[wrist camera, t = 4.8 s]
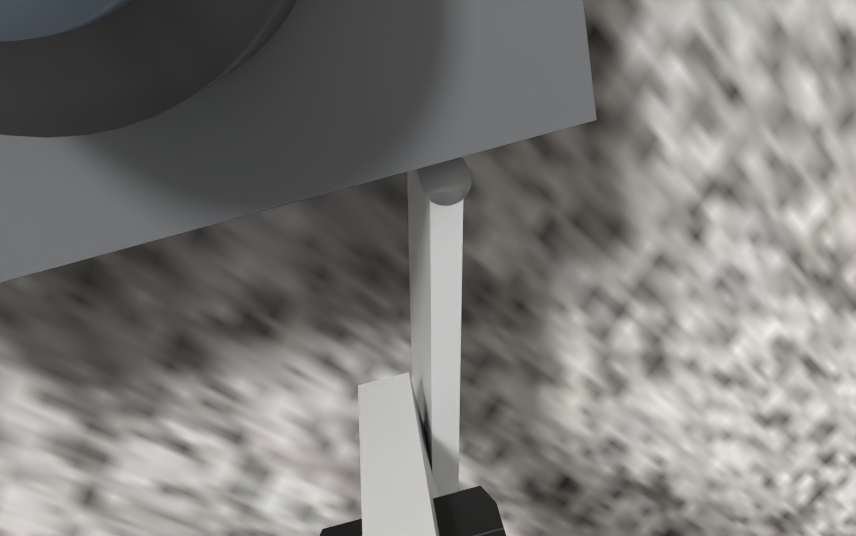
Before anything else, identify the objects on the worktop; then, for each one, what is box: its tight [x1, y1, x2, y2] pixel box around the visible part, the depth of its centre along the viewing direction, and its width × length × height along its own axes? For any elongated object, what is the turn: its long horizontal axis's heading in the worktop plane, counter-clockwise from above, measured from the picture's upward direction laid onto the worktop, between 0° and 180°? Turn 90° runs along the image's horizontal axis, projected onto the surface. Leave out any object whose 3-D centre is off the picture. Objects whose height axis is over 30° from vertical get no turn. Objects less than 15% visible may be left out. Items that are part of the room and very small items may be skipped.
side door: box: [407, 157, 472, 497], centre depth 15 cm, size 10×1×6 cm, turn 1°
